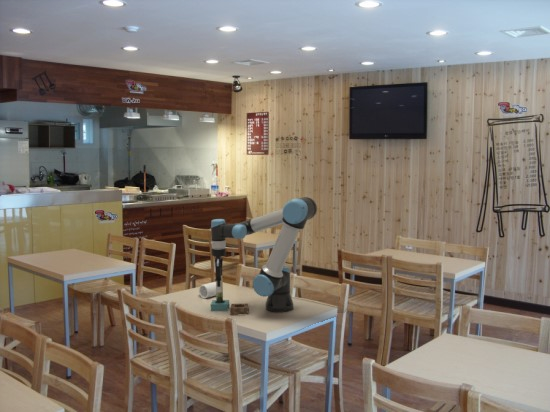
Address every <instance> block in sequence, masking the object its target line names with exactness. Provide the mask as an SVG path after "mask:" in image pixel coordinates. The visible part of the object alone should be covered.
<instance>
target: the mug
mask: <svg viewBox="0 0 550 412" xmlns="http://www.w3.org/2000/svg"><path fill="white" fill-rule="evenodd" d="M198 293H199V296H200V297H201V298H202V299H208V298H211V297H216V281H213V282H207V283H204V284H201V285H200V286H199V288H198Z"/></svg>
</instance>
